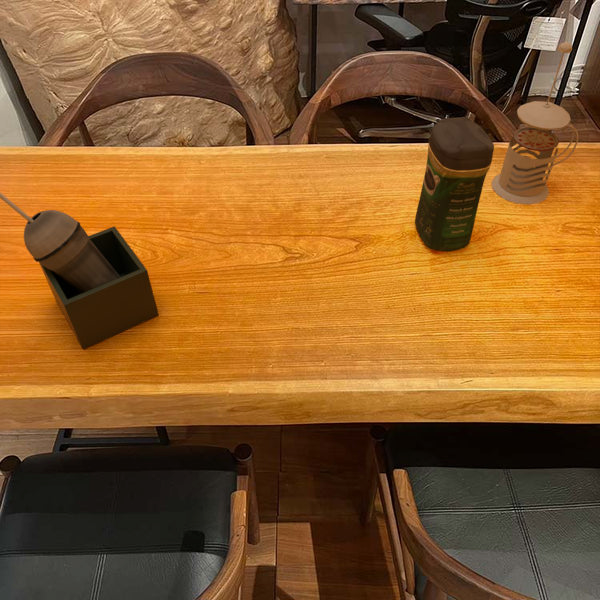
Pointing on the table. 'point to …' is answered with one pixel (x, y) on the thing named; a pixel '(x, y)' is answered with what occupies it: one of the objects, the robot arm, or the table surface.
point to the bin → (107, 294)
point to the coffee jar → (453, 183)
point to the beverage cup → (65, 249)
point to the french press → (520, 169)
